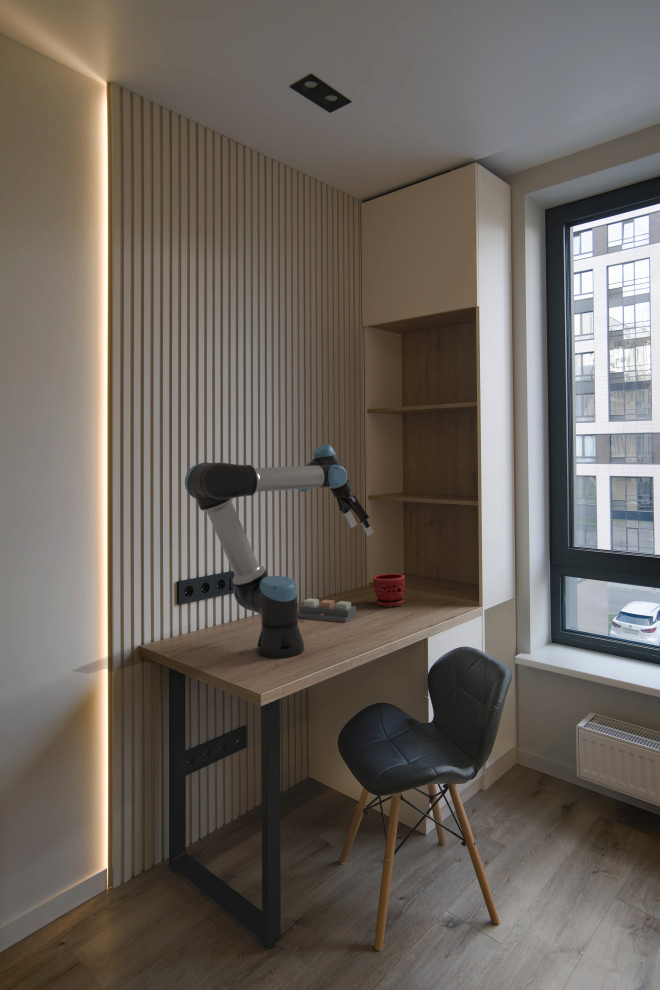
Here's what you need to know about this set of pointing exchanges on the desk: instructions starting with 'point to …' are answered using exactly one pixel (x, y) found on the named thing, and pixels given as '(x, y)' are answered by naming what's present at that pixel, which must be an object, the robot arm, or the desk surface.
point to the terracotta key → (327, 604)
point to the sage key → (343, 605)
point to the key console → (326, 613)
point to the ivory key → (311, 602)
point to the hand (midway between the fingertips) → (362, 529)
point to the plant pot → (389, 589)
